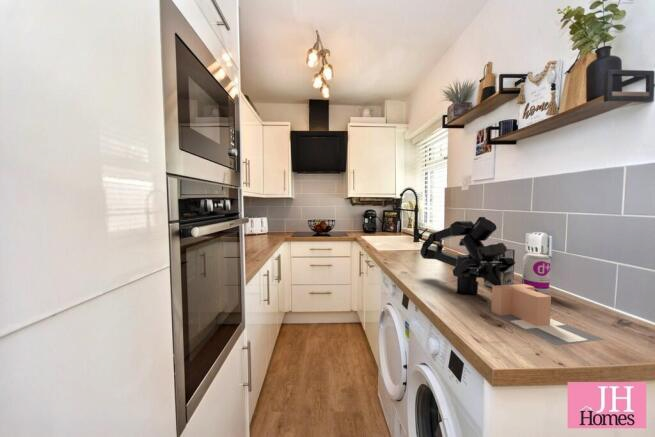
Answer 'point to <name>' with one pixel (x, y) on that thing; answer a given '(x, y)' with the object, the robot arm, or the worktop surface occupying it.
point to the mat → (552, 330)
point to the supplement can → (537, 272)
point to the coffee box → (508, 275)
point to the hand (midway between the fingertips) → (500, 287)
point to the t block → (522, 303)
